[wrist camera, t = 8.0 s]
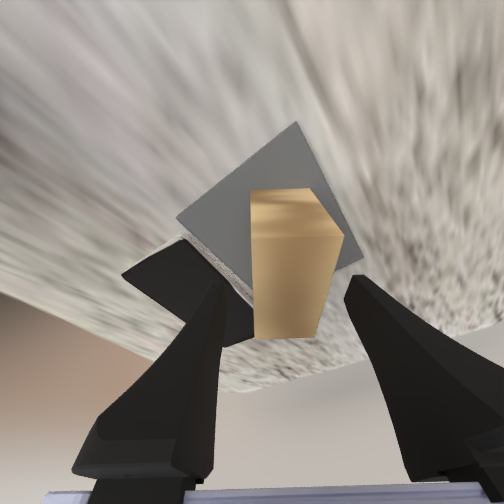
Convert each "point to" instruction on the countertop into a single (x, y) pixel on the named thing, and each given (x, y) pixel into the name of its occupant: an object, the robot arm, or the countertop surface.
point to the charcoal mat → (239, 210)
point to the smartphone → (190, 285)
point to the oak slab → (291, 261)
